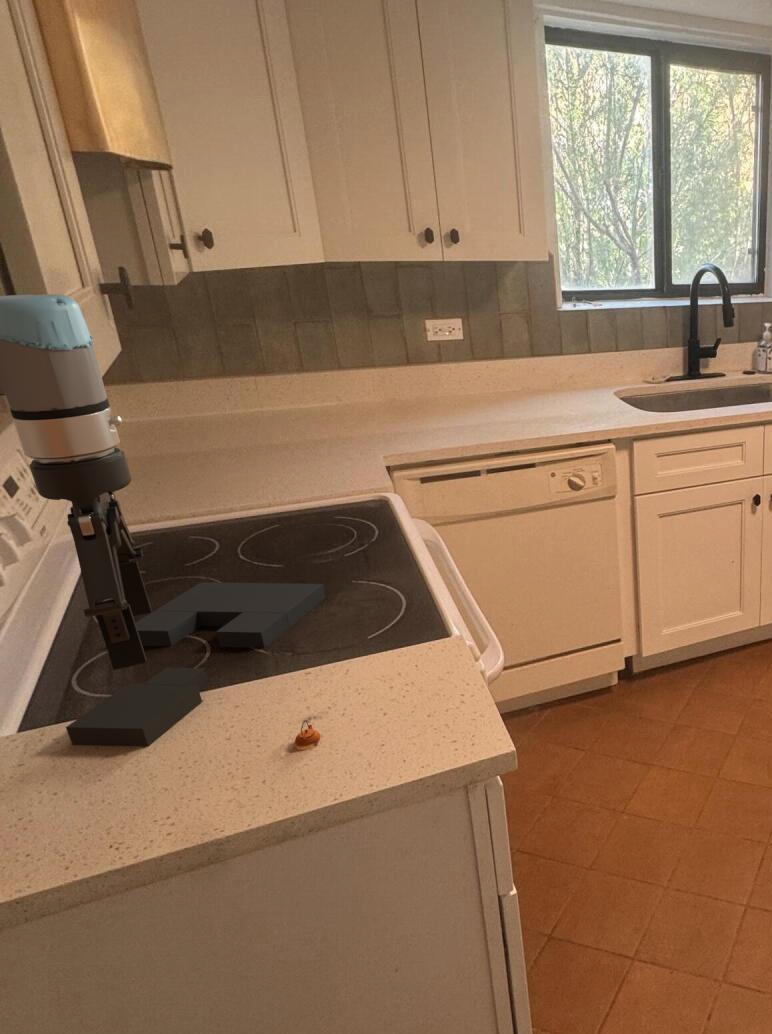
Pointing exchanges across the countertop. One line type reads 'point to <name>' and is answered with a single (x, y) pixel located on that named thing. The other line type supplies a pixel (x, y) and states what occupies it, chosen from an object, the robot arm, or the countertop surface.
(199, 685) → the pad
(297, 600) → the notch pad
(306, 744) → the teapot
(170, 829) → the countertop surface
